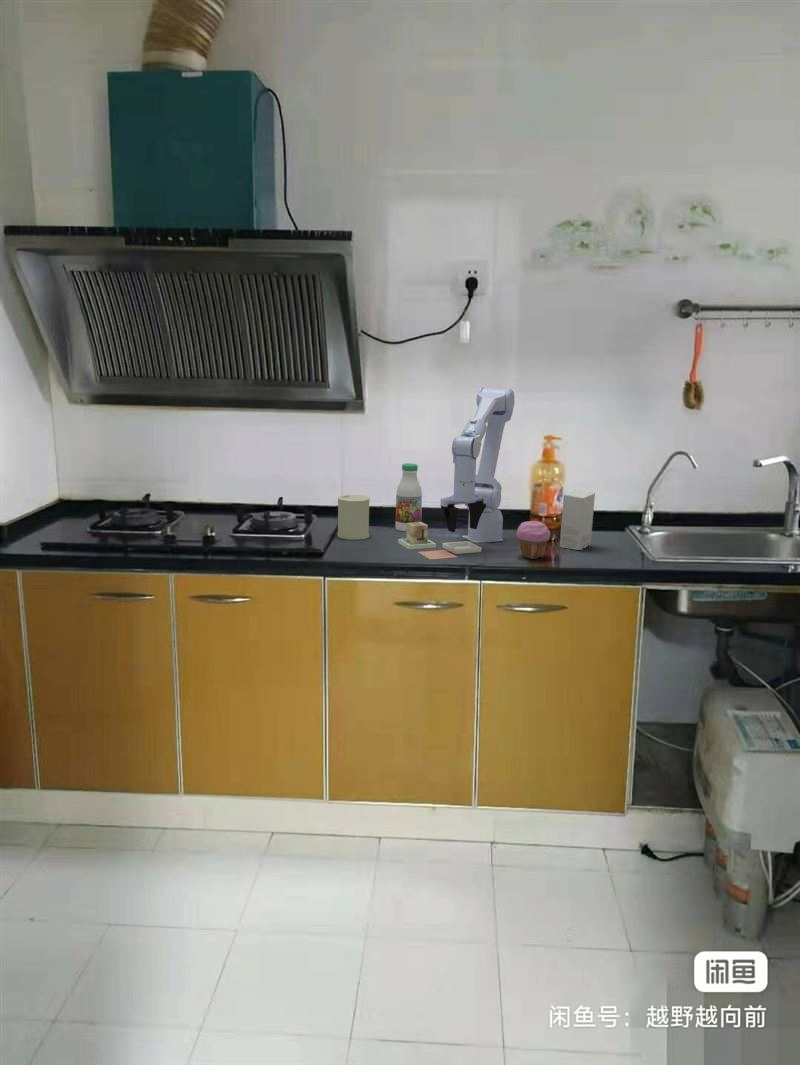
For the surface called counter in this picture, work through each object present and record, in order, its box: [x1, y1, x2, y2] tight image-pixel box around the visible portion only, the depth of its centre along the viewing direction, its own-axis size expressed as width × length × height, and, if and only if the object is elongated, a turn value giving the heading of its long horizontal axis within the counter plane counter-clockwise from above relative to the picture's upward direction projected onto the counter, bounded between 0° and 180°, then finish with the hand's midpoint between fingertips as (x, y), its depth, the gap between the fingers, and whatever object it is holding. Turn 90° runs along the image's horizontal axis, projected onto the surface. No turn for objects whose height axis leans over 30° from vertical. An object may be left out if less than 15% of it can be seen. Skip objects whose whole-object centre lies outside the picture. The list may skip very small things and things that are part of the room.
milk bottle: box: [395, 463, 423, 532], centre depth 259 cm, size 8×8×20 cm
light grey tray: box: [442, 540, 483, 555], centre depth 237 cm, size 8×8×2 cm
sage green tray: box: [397, 537, 437, 551], centre depth 241 cm, size 8×8×2 cm
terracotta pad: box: [417, 549, 458, 561], centre depth 231 cm, size 8×8×1 cm
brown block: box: [405, 521, 429, 545], centre depth 240 cm, size 4×4×6 cm
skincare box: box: [559, 489, 596, 551], centre depth 243 cm, size 8×7×16 cm
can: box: [337, 494, 370, 540], centre depth 249 cm, size 9×9×12 cm
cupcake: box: [515, 520, 551, 560], centre depth 231 cm, size 9×9×10 cm
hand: (462, 530), depth 236 cm, fingers open, 7 cm apart
